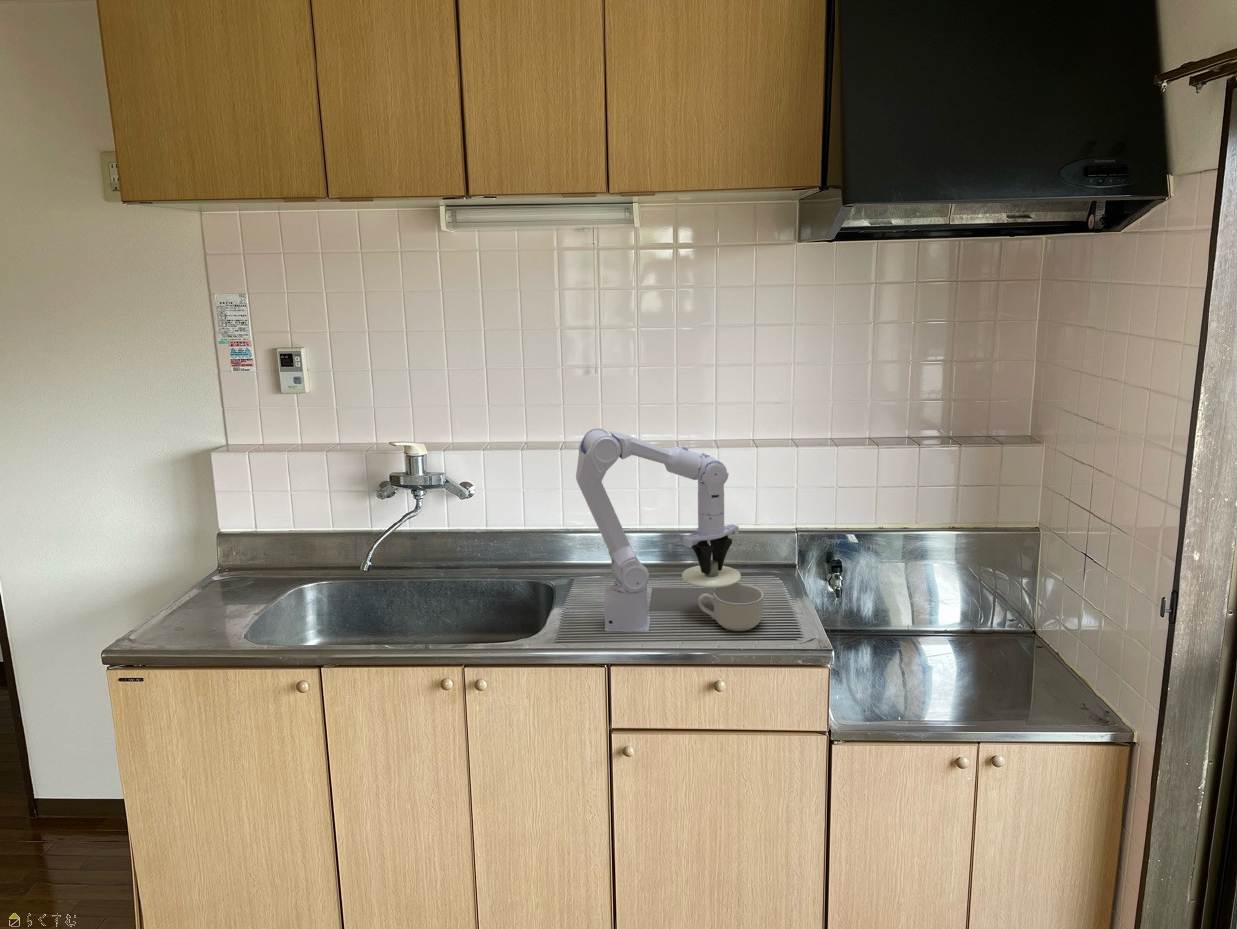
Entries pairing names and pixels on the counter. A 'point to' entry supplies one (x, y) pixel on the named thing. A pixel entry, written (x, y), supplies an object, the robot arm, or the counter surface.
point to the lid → (711, 576)
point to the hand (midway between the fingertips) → (711, 571)
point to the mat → (679, 599)
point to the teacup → (735, 606)
